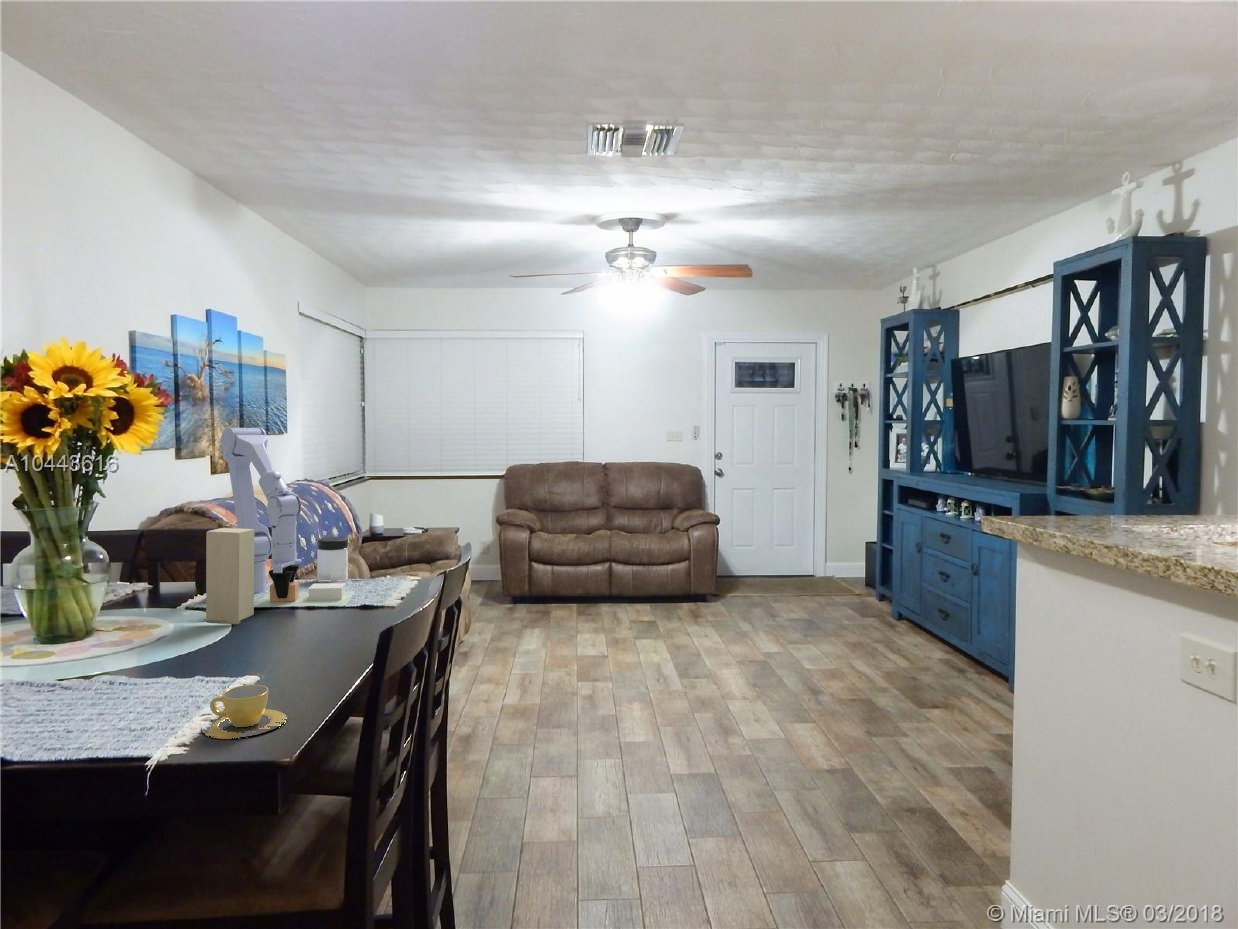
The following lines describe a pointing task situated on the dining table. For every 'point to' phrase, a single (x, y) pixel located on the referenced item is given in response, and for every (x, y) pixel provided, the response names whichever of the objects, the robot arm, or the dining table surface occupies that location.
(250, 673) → the dining table surface
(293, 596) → the top brick
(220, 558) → the beige tall rectangular block
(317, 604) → the baseplate
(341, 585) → the base brick
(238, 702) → the cup
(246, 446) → the robot arm
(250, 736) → the dining table surface
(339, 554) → the jar
